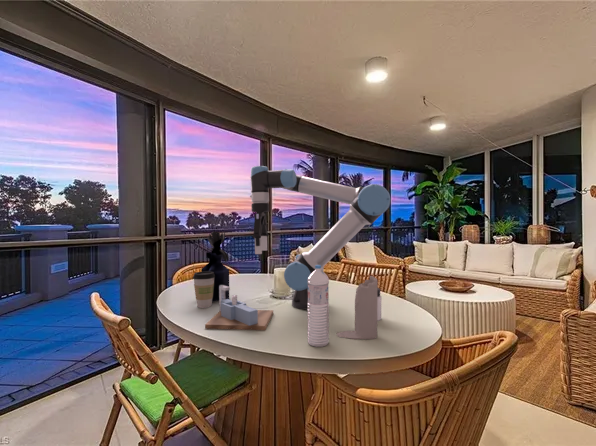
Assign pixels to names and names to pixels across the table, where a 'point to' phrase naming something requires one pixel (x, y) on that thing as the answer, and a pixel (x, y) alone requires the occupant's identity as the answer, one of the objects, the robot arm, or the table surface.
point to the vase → (217, 264)
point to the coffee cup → (204, 288)
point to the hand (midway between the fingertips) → (261, 252)
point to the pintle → (234, 300)
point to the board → (225, 323)
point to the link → (239, 312)
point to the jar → (378, 305)
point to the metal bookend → (364, 312)
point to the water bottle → (318, 308)
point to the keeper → (222, 294)
